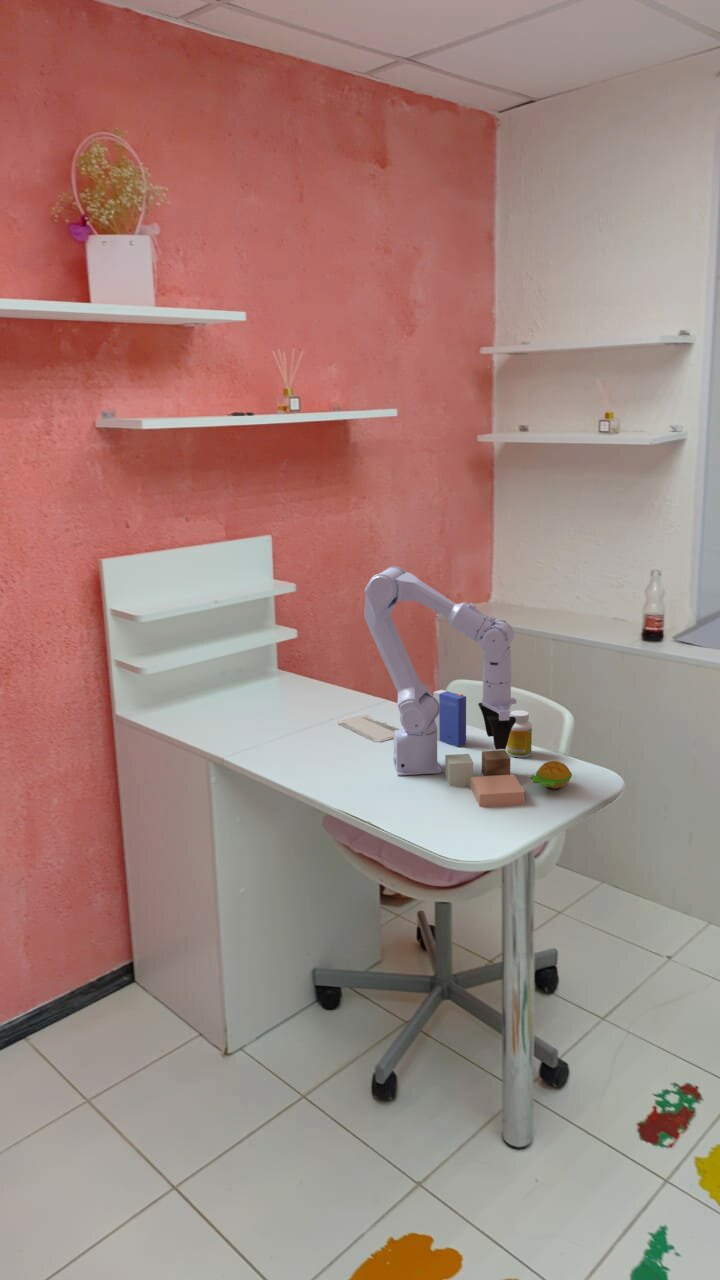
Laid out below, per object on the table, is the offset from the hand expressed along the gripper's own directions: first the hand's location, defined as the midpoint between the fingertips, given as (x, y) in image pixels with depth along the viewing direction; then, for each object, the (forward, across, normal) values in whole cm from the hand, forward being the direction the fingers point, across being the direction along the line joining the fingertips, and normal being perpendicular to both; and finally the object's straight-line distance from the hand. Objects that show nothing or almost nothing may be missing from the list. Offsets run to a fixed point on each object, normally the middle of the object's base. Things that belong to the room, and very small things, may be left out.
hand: (496, 742), depth 202 cm
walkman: (+8, +22, +6) cm, 24 cm away
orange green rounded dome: (+8, -8, -10) cm, 15 cm away
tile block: (+8, -10, +2) cm, 13 cm away
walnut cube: (+8, 0, 0) cm, 8 cm away
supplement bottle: (+8, +12, -8) cm, 16 cm away
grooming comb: (+8, +34, +23) cm, 42 cm away
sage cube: (+8, -1, +8) cm, 11 cm away
